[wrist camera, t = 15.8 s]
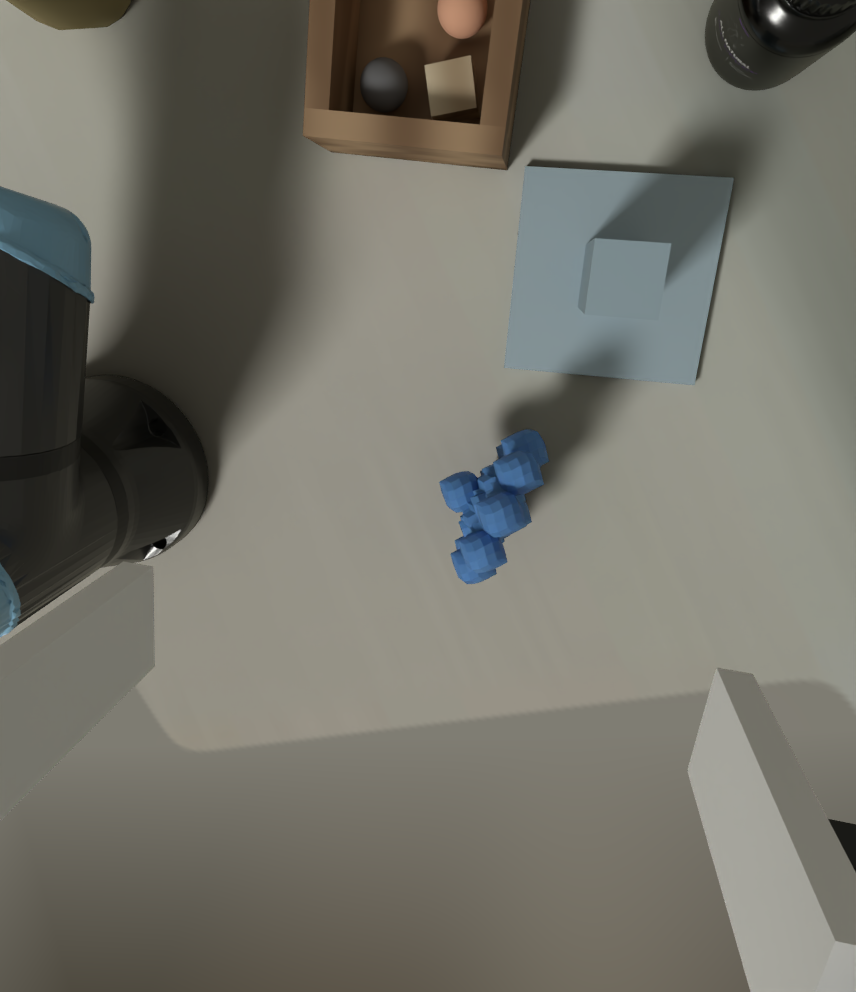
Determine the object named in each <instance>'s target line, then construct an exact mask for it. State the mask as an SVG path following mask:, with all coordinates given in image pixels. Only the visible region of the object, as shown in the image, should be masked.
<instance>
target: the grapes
mask: <svg viewBox="0 0 856 992" xmlns="http://www.w3.org/2000/svg"><path fill="white" fill-rule="evenodd" d="M501 443H502V444H501V445H500V446H498V447H496V449H497V453H498V457H499V459H498V460H496V461H495V462H493V464H492V465H489V466H487V467H485V468H483V469H482V471H480V473H481V476H480V477H479V478H477V477H476V476H475V475H474V474H473V473H471V472H469V471H464V472H459V473H455V474H453V475H451V476H449V477H447V478H446V479H444V480H442V481H440V482H439V483H440V487H441V491H442V494H443V497H444V499H445V502H446V504H447V506H448V507H449V508H450V509H451V510H453V511H455V512H456V513H457V512H463V515H462V516H460V517H461V521H459V524H460V527H461V530H462V532H463V535H464V536H462V537H461V538H459V539H457V540H455V544H456V548H457V551H455V552H453V553H451V557H452V561H453V565H454V567H455V570H456V572H457V575H458V577H459V578H460V579H461V580H462V581H464V582H465V583H467V584H475V583H479V582H482V581H484V580H486V579H488V578H490V577H492V576H493V575H495V574H497V573H496V569H495V568H497V567H499V566H501V565H503V564H505V563H506V562H507V558H506V554H505V550H504V547H503V544H502V543H503V542H505V541H504V538H506V537H508V536H509V535H510V534H512V533H514V532H516V531H518V530H520V529H522V528H524V527H525V526H527V524H529V523H531V522H532V521H531V517H530V513H529V509H528V505H527V503H526V498H525V495H524V494H526V493H528V492H530V491H532V490H534V489H536V488H538V487H540V486H542V485H544V483H543V478H542V474H541V470H540V467H541V466H542V465H543V464H545V463H547V462H549V459H548V455H547V451H546V446H545V443H544V441H543V439H542V438H541V436H540V435H539V433H538V432H537V431H534V430H531V429H525V430H522V431H519V432H516V433H514V434H512V435H510V436H508V437H507V438H505V439H503V440H501Z"/></svg>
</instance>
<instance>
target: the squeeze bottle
mask: <svg viewBox="0 0 856 992" xmlns="http://www.w3.org/2000/svg"><path fill="white" fill-rule="evenodd" d="M7 1H8V2H10V3H11V4H12V5H14V6H15V7H17V8H18V9H20V10H21V11H23V12H24V13H26V14H27V15H29V16H30V17H32V18H33V19H35V20H36V21H38V22H41V23H43V24H46V25H48V26H50V27H53V28H55V29H58V30H68V29H85V28H99V27H108V26H110V25H111V24H113V23H114V22H116V21H117V20H119V19H120V18H121V17H122V16H123V14H124V12H125V11H126V9H127V8H128V6H129V4H130V3H131V0H7Z"/></svg>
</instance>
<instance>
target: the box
mask: <svg viewBox="0 0 856 992" xmlns="http://www.w3.org/2000/svg"><path fill="white" fill-rule="evenodd" d="M437 6H438V0H310V4H309V24H308V44H307V64H306V83H305V103H304V123H303V136H304V137H306V138H308V139H310V140H311V141H313V142H315V143H317V144H318V145H320V146H322V147H324V148H325V149H327V150H329V151H331V152H336V153H345V154H355V155H365V156H374V157H384V158H394V159H403V160H413V161H423V162H432V163H442V164H452V165H462V166H471V167H481V168H491V169H500V170H507V168H508V160H509V153H510V146H511V138H512V131H513V124H514V116H515V109H516V102H517V94H518V87H519V80H520V72H521V65H522V58H523V50H524V43H525V36H526V28H527V21H528V14H529V6H530V0H487V7H488V9H487V16H486V20H485V22H484V24H483V26H482V28H481V29H480V30H479V31H478V32H477V33H476V34H475V35H473V36H471V37H469V38H465V39H458V38H454V37H452V36H450V35H449V34H448V33H447V32H446V31H445V30H444V29H443V27H442V26H441V24H440V21H439V18H438V12H437ZM469 55H471V58H472V61H473V64H474V66H475V72H476V80H477V89H478V98H479V107H480V116H481V117H480V118H475V119H469V120H464V121H459V122H448V121H437V120H433V119H432V117H431V112H430V104H429V96H428V89H427V81H426V73H425V66H424V65H428V64H432V63H437V62H442V61H446V60H451V59H455V58H460V57H465V56H469ZM379 57H387V58H391V59H393V60H395V61H396V62H397V63H399V64H400V65H401V67H402V68H403V70H404V71H405V74H406V76H407V81H408V91H407V95H406V98H405V100H404V102H403V103H402V104H401V106H400V107H398V108H397V109H396V110H394V111H392V112H387V113H382V112H378V111H375V110H373V109H372V108H370V107H369V106H368V105H367V103H366V102H365V101H364V99H363V97H362V94H361V90H360V78H361V74H362V72H363V70H364V68H365V66H366V65H367V64H368V63H369V62H370V61H372V60H374V59H376V58H379Z"/></svg>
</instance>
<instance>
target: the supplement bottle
mask: <svg viewBox="0 0 856 992" xmlns="http://www.w3.org/2000/svg"><path fill="white" fill-rule="evenodd" d="M855 31H856V0H714V1H713V3H712V6H711V8H710V11H709V14H708V17H707V22H706V28H705V45H706V50H707V54H708V57H709V60H710V62H711V64H712V66H713V68H714V69H715V71H716V72H717V73H718V75H719V76H720V77H721V78H722V79H724V80H725V81H726V82H728V83H729V84H731V85H733V86H735V87H738V88H741V89H745V90H765V89H769V88H773V87H776V86H778V85H780V84H783V83H785V82H786V81H788V80H790V79H791V78H793V77H794V76H796V75H797V74H799V73H800V72H802V71H803V70H805V69H806V68H807V67H809V66H810V65H811V64H813V63H814V62H816V61H817V60H818V59H820V58H821V57H822V56H824V55H825V54H827V53H828V52H829V51H831V50H832V49H834V48H835V47H836V46H838V45H839V44H840V43H842V42H843V41H844V40H846V39H847V38H848V37H849V36H851V35H852V34H853V33H854V32H855Z"/></svg>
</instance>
